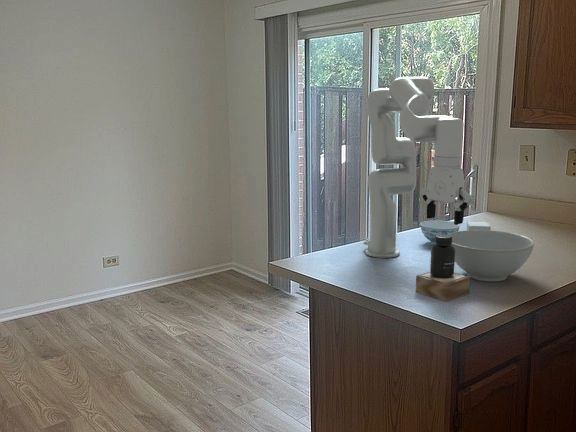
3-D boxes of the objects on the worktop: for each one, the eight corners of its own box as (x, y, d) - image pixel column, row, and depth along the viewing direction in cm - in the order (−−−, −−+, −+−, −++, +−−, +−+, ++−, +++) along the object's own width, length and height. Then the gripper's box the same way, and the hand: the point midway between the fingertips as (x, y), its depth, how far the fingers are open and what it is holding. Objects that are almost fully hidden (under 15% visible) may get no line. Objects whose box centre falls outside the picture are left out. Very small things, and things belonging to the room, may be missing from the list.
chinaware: (412, 240, 231) (413, 222, 229) (444, 237, 235) (445, 219, 234) (432, 249, 217) (433, 230, 215) (466, 246, 222) (467, 226, 220)
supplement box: (489, 261, 201) (491, 226, 198) (467, 260, 202) (468, 225, 200) (486, 255, 208) (488, 221, 205) (465, 255, 209) (466, 221, 207)
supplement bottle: (450, 280, 165) (451, 239, 162) (426, 276, 168) (428, 237, 166) (456, 274, 170) (458, 234, 168) (434, 270, 174) (435, 232, 171)
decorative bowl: (480, 259, 203) (482, 226, 201) (549, 278, 181) (552, 241, 179) (426, 272, 189) (427, 237, 187) (494, 295, 167) (496, 255, 165)
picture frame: (415, 291, 171) (416, 275, 170) (439, 284, 178) (439, 267, 177) (446, 301, 163) (446, 284, 162) (469, 293, 169) (470, 276, 168)
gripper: (414, 160, 167) (412, 217, 171) (465, 166, 153) (461, 228, 157) (431, 157, 171) (428, 213, 175) (481, 164, 158) (477, 224, 162)
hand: (444, 220), depth 166 cm, fingers open, 9 cm apart
